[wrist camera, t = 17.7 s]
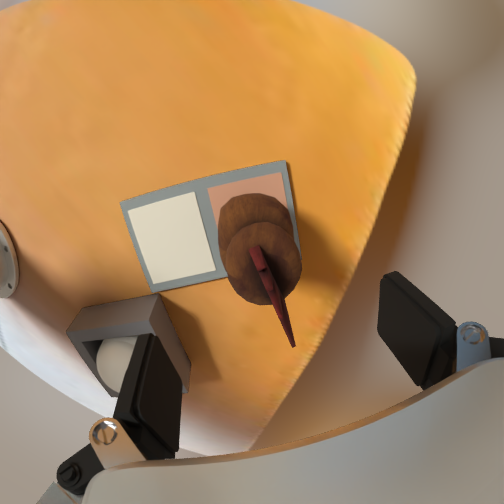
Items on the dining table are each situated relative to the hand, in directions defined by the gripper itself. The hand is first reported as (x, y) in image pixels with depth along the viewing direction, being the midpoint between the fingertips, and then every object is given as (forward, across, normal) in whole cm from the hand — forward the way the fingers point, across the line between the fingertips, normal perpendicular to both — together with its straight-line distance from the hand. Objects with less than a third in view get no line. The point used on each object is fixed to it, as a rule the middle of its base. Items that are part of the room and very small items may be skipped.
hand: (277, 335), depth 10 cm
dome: (+16, +16, +11) cm, 25 cm away
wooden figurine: (+16, -1, 0) cm, 16 cm away
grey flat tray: (+17, +3, 0) cm, 17 cm away
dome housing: (+17, +16, +11) cm, 26 cm away
